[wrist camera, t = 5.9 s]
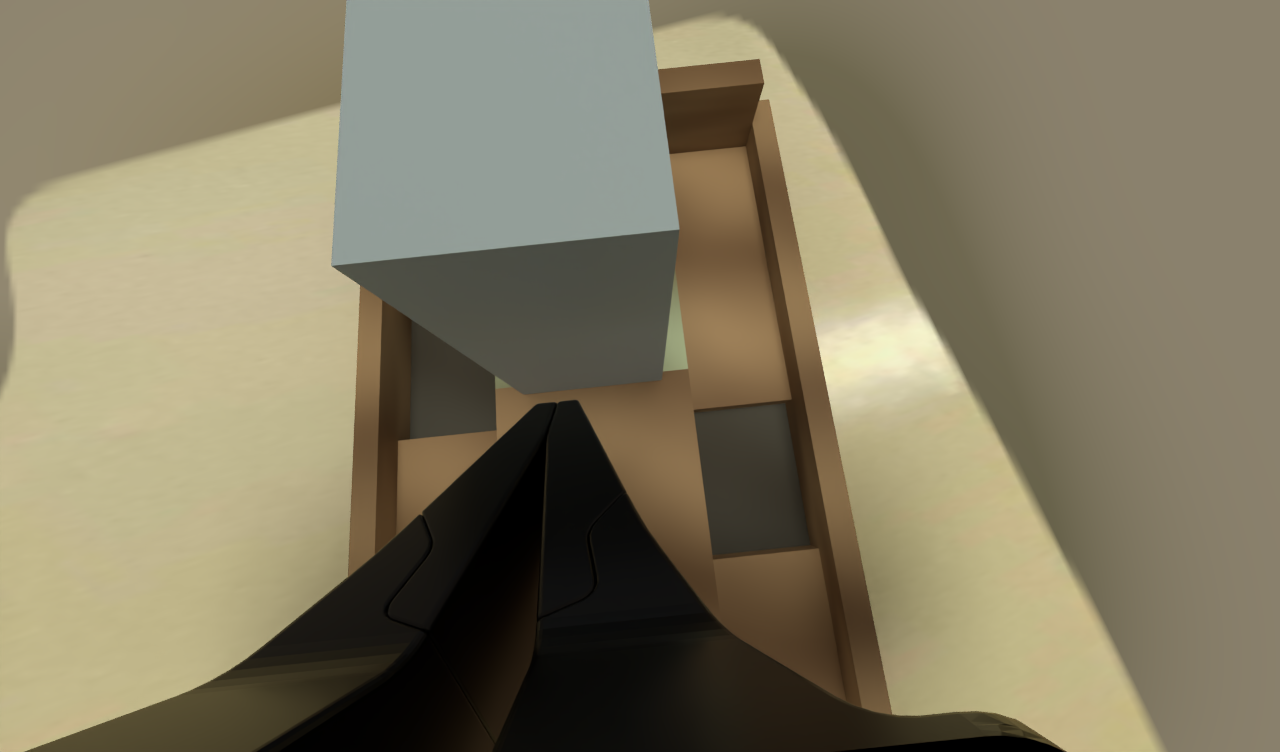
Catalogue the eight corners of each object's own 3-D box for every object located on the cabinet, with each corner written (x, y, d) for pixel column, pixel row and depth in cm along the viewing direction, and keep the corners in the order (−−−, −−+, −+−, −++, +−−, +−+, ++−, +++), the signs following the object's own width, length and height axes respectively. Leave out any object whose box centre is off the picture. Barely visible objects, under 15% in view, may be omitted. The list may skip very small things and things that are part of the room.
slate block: (661, 379, 16) (679, 229, 6) (523, 394, 16) (332, 265, 6) (638, 185, 18) (626, -162, 8) (514, 198, 18) (354, -135, 8)
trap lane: (878, 793, 14) (966, 914, 10) (382, 846, 14) (279, 987, 10) (756, 141, 19) (782, 56, 16) (397, 178, 19) (334, 103, 16)
